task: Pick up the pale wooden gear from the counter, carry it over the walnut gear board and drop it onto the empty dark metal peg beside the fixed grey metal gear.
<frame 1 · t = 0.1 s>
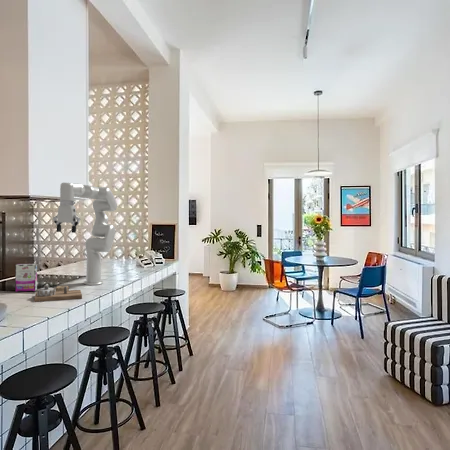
hand: (66, 232, 215), 37 cm above the counter, tool pointing down, fingers open, 9 cm apart
candy bar box: (26, 291, 221), on the counter
gear board: (58, 297, 208), on the counter
wooden gear: (62, 291, 221), on the counter
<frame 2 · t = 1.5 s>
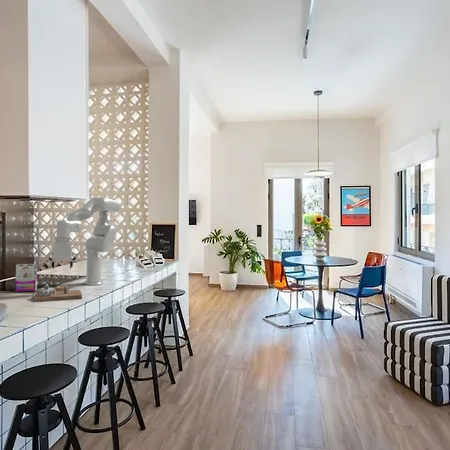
hand: (62, 268, 220), 15 cm above the counter, tool pointing down, fingers open, 9 cm apart
nothing on the counter moved.
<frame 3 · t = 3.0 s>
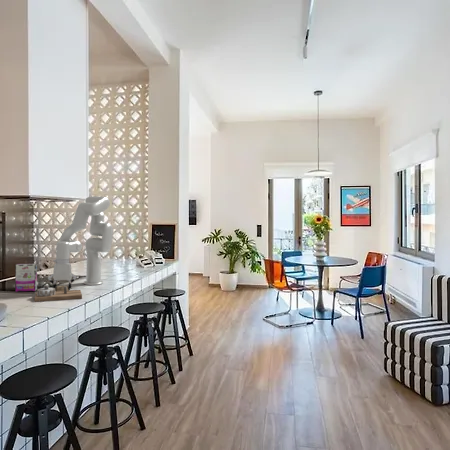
hand: (62, 290, 221), 1 cm above the counter, tool pointing down, fingers closed on wooden gear, 7 cm apart
wooden gear: (62, 291, 221), on the counter, touching gripper
everything else where it was.
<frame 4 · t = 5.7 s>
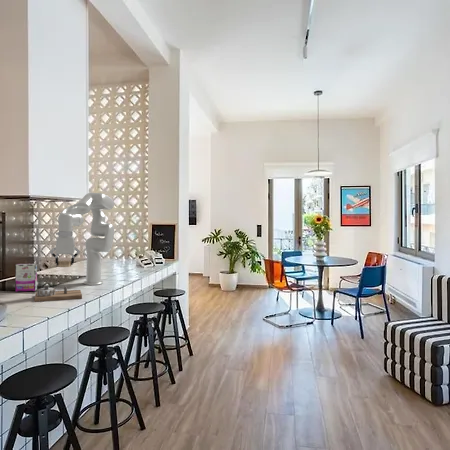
hand: (64, 264, 211), 18 cm above the counter, tool pointing down, fingers closed on wooden gear, 7 cm apart
wooden gear: (64, 266, 211), point 17 cm above the counter, touching gripper
everything else where it was.
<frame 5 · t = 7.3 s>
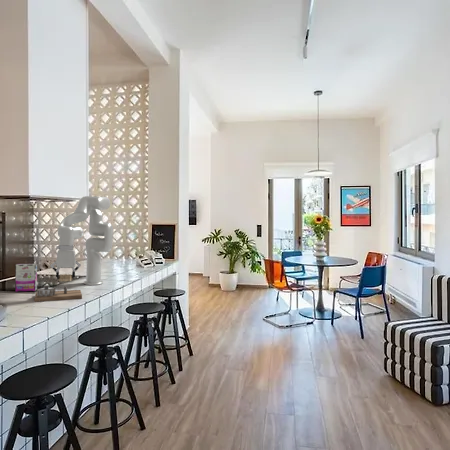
hand: (65, 278, 209), 11 cm above the counter, tool pointing down, fingers closed on wooden gear, 7 cm apart
wooden gear: (65, 280, 209), point 10 cm above the counter, touching gripper
everything else where it was.
when the fingers open (8 cm above the counter, at t = 8.5 s): wooden gear drops 4 cm, resting on gear board.
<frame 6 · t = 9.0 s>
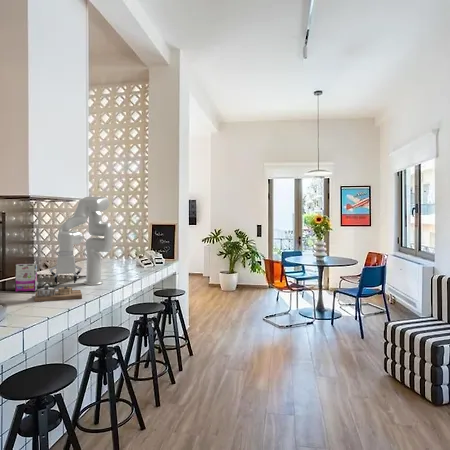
hand: (65, 282, 209), 8 cm above the counter, tool pointing down, fingers open, 9 cm apart
wooden gear: (65, 293, 209), point 2 cm above the counter, touching gear board
everything else where it was.
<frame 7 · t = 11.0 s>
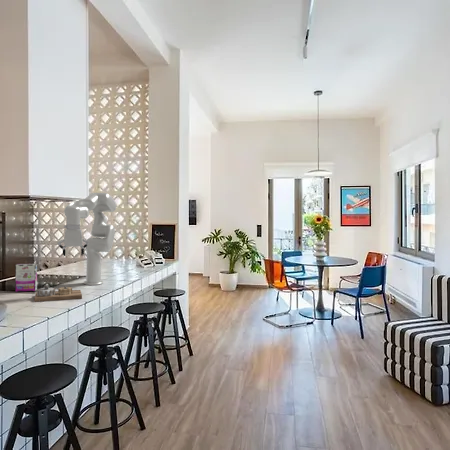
hand: (73, 255, 217), 23 cm above the counter, tool pointing down, fingers open, 9 cm apart
nothing on the counter moved.
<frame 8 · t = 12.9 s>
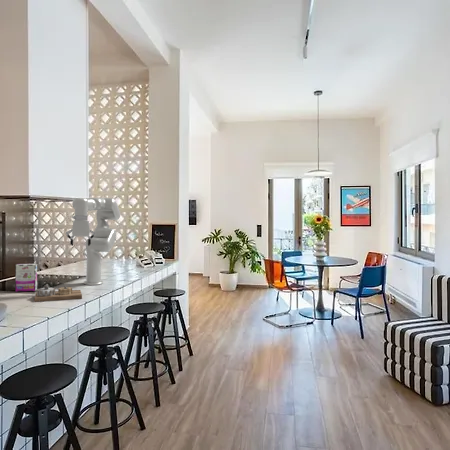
hand: (80, 245, 225), 28 cm above the counter, tool pointing down, fingers open, 9 cm apart
nothing on the counter moved.
at the end: wooden gear 0.1 cm from the target spot on the gear board, point 2.0 cm above the gear board's base; wooden gear tilted 0°; the gripper is holding nothing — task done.
